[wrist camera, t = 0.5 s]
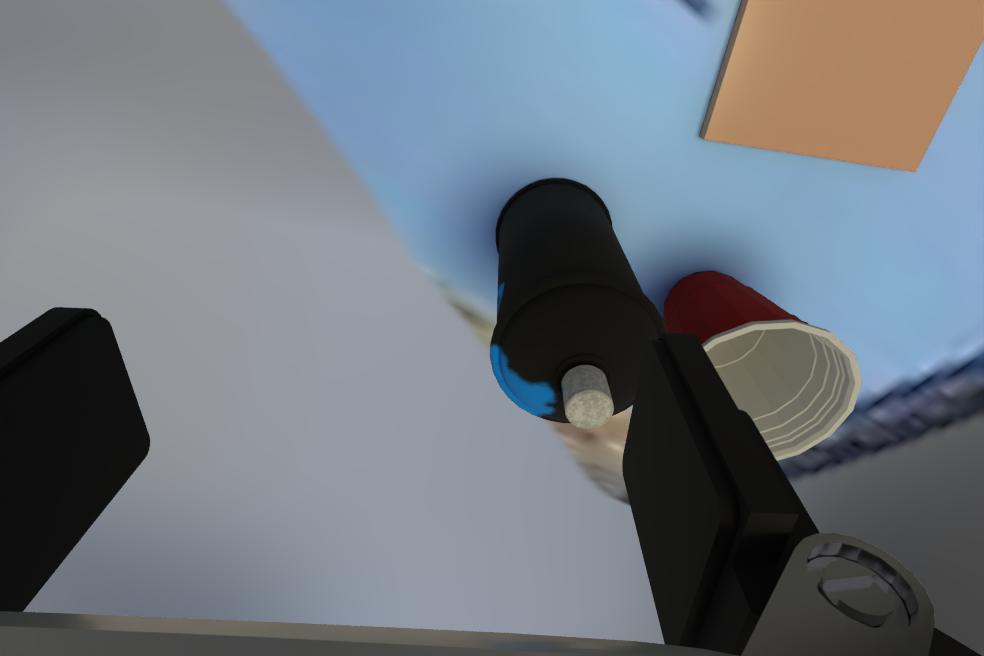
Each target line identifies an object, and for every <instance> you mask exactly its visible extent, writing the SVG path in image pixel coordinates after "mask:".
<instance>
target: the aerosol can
mask: <svg viewBox="0 0 984 656" xmlns="http://www.w3.org/2000/svg"><path fill="white" fill-rule="evenodd" d="M496 246H497V251H498V254H499V267H498V301H497V324H496V326H495V328H494V332H493V336H492V340H491V344H490V360H491V364H492V369H493V373H494V375H495V377H496V379H497V381H498V383H499V385H500V387H501V388H502V390H503V391H504V392H505V394H506V395H507V396H508V398H510V399H511V400H512V401H513V402H514V403H515V404H517V405H518V406H519V407H520V408H522V409H524V410H525V411H527V412H529V413H531V414H532V415H535V416H537V417H540V418H543V419H546V420H550V421H555V422H560V423H572V424H573V425H575V426H577V427H579V428H584V429H591V428H596V427H599V426H602V425H603V424H605V423H606V422H607V421H608V420H609V419H610V418H611V416H613V415H615V414H617V413H620V412H622V411H624V410H626V409H627V408H629V407H630V406H632V405H633V404H634V399H635V394H636V389H637V384H638V379H639V374H640V369H641V364H642V359H643V354H644V349H645V345H646V342H647V341H648V340H656V339H657V336H658V334H659V333H660V332H666V330H665V326H664V323H663V319H662V317H661V316H660V314H659V312H658V310H657V308H656V307H655V305H654V304H653V303H652V302H651V301H650V300H649V299H648V297H647V296H646V295H645V294H644V293H643V292H642V289H641V287H640V285H639V283H638V281H637V279H636V277H635V275H634V273H633V271H632V268H631V266H630V264H629V262H628V260H627V258H626V256H625V254H624V252H623V250H622V248H621V245H620V243H619V241H618V239H617V237H616V235H615V233H614V231H613V229H612V221H611V217H610V214H609V211H608V209H607V207H606V206H605V204H604V202H603V201H602V199H601V198H600V197H599V196H598V195H597V194H596V193H595V192H594V191H592V190H591V189H590V188H588V187H587V186H585V185H583V184H581V183H578V182H576V181H572V180H568V179H554V178H552V179H546V180H540V181H538V182H535V183H532V184H530V185H528V186H526V187H525V188H523V189H521V190H520V191H518V192H517V193H516V194H515V195H514V196H513V197H512V198H511V199H510V200H509V201H508V203H507V204H506V205H505V207H504V208H503V210H502V212H501V214H500V216H499V219H498V222H497V227H496Z"/></svg>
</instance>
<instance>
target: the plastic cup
mask: <svg viewBox="0 0 984 656" xmlns="http://www.w3.org/2000/svg"><path fill="white" fill-rule="evenodd" d="M663 320H664V326H665V330H666V332H674V333H693V334H695V335H696V336H697V338H698V339H699V341H700V343H701V345H702V346H703V348H704V350H705V352H706V353H707V355H708V357H709V358H710V360H711V362H712V364H713V365H714V367H715V369H716V371H717V372H718V374H719V376H720V378H721V379H722V381H723V383H724V385H725V386H726V388H727V390H728V392H729V393H730V395H731V397H732V399H733V400H734V402H735V404H736V406H737V407H738V409H739V410H743V411H745V412H747V413H748V414H749V416H750V417H751V418H752V420H753V421H754V423H755V425H756V427H757V428H758V430H759V432H760V433H761V435H762V437H763V438H764V440H765V442H766V443H767V445H768V447H769V448H770V450H771V452H772V454H773V455H774V457H775V459H776V460H777V461H778V460H781V459H784V458H788V457H791V456H795V455H798V454H801V453H802V452H804V451H806V450H807V449H809V448H811V447H812V446H814V445H816V444H817V443H819V442H821V441H822V440H824V439H826V438H827V437H829V436H831V435H832V434H833V432H834V431H835V430H836V429H837V428H838V427H839V426H840V424H841V423H842V422H843V421H844V420H845V419H846V418H847V417H848V415H849V414H850V413H851V412H852V411H853V409H854V406H855V403H856V399H857V396H858V393H859V390H860V387H861V384H862V379H861V375H860V371H859V367H858V363H857V359H856V355H855V354H854V353H853V352H852V351H851V350H850V349H849V348H848V347H847V346H846V345H845V344H844V343H842V342H841V341H840V340H839V339H838V338H837V337H836V336H835V335H834V334H833V333H831V332H830V331H828V330H826V329H822V328H819V327H816V326H812V325H809V324H808V323H807V322H804V321H801V320H800V319H799V318H798V317H796V316H795V315H791V314H789V313H788V312H786V311H785V310H783V309H782V308H780V307H779V306H777V305H776V304H774V303H773V302H771V301H770V300H768V299H767V298H765V297H764V296H762V295H761V294H759V293H758V292H757V291H755V290H754V289H752V288H751V287H748V286H745V285H743V284H742V283H740V282H739V281H737V280H736V279H734V278H733V277H731V276H728V275H724V274H721V273H718V272H714V271H707V272H697V273H695V274H692V275H690V276H688V277H686V278H683V279H682V280H681V281H680V282H679V283H677V284H676V285H675V286H674V287H673V288H672V289H671V291H670V293H669V295H668V297H667V298H666V300H665V305H664V318H663Z"/></svg>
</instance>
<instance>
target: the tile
mask: <svg viewBox="0 0 984 656" xmlns="http://www.w3.org/2000/svg"><path fill="white" fill-rule="evenodd" d="M983 40H984V0H742V2H741V5H740V9H739V12H738V15H737V18H736V21H735V25H734V28H733V31H732V34H731V37H730V41H729V44H728V47H727V50H726V53H725V57H724V60H723V63H722V66H721V69H720V72H719V76H718V79H717V82H716V85H715V88H714V92H713V95H712V98H711V101H710V104H709V108H708V111H707V114H706V117H705V120H704V124H703V127H702V130H701V133H700V136H699V137H701V138H702V139H704V140H709V141H716V142H722V143H729V144H735V145H742V146H748V147H755V148H761V149H768V150H774V151H781V152H787V153H794V154H800V155H807V156H813V157H820V158H826V159H833V160H839V161H846V162H852V163H859V164H865V165H872V166H878V167H885V168H891V169H898V170H904V171H911V172H916V170H917V168H918V166H919V164H920V162H921V160H922V159H923V157H924V155H925V153H926V151H927V149H928V147H929V145H930V143H931V141H932V139H933V137H934V135H935V133H936V131H937V129H938V127H939V125H940V123H941V121H942V120H943V118H944V116H945V114H946V112H947V110H948V108H949V106H950V104H951V102H952V100H953V98H954V96H955V94H956V92H957V90H958V88H959V86H960V84H961V82H962V80H963V79H964V77H965V75H966V73H967V71H968V69H969V67H970V65H971V63H972V61H973V59H974V57H975V55H976V53H977V51H978V49H979V47H980V45H981V43H982V41H983Z"/></svg>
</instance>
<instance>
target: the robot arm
mask: <svg viewBox="0 0 984 656" xmlns="http://www.w3.org/2000/svg"><path fill="white" fill-rule="evenodd" d="M149 447H150V437H149V434H148V431H147V428H146V425H145V422H144V419H143V416H142V413H141V410H140V407H139V405H138V402H137V399H136V396H135V393H134V390H133V387H132V384H131V381H130V379H129V376H128V373H127V370H126V367H125V364H124V361H123V359H122V355H121V353H120V350H119V347H118V344H117V341H116V338H115V335H114V332H113V330H112V327H111V325H110V323H109V321H108V320H106V319H105V318H103V317H101V315H100V314H99V313H98V312H97V311H96V310H93V309H87V308H63V307H57V308H56V307H55V308H52V309H50V310H48V311H47V312H45V313H44V314H42V315H41V316H39V317H38V318H36V319H35V320H33V321H32V322H30V323H29V324H27V325H26V326H24V327H23V328H21V329H20V330H18V331H17V332H15V333H14V334H12V335H11V336H9V337H8V338H7V339H5V340H3V341H2V342H0V656H981V655H980V654H978V653H976V652H975V651H973V650H971V649H969V648H968V647H966V646H965V645H963V644H961V643H960V642H958V641H956V640H955V639H953V638H951V637H950V636H948V635H946V634H945V633H943V632H941V631H940V630H938V629H936V628H935V627H934V625H935V618H934V607H933V604H932V602H931V600H930V598H929V596H928V594H927V591H926V589H925V588H924V587H923V586H922V584H921V583H920V582H919V581H918V580H917V578H916V577H915V576H914V575H913V573H912V572H911V571H909V570H908V569H907V568H906V567H905V566H904V565H902V564H901V563H900V562H899V561H898V560H896V559H895V558H894V557H892V556H891V555H889V554H888V553H886V552H884V551H883V550H881V549H879V548H878V547H876V546H874V545H872V544H869V543H867V542H865V541H862V540H860V539H857V538H855V537H851V536H846V535H841V534H837V533H819V531H818V529H817V528H816V526H815V525H814V523H813V521H812V519H811V518H810V516H809V514H808V513H807V511H806V509H805V507H804V506H803V504H802V503H801V501H800V499H799V497H798V496H797V494H796V492H795V491H794V489H793V487H792V486H791V484H790V482H789V481H788V479H787V477H786V475H785V474H784V472H783V470H782V469H781V467H780V465H779V464H778V462H777V460H776V459H775V457H774V455H773V454H772V452H771V450H770V448H769V447H768V445H767V443H766V442H765V440H764V438H763V437H762V435H761V433H760V432H759V430H758V428H757V427H756V425H755V423H754V421H753V420H752V418H751V417H750V416H749V414H748V413H747V412H745V411H743V410H739V409H738V407H737V406H736V404H735V402H734V400H733V399H732V397H731V395H730V393H729V392H728V390H727V388H726V386H725V385H724V383H723V381H722V379H721V378H720V376H719V374H718V372H717V371H716V369H715V367H714V365H713V364H712V362H711V360H710V358H709V357H708V355H707V353H706V352H705V350H704V348H703V346H702V345H701V343H700V341H699V339H698V338H697V336H696V335H695V334H693V333H674V332H660V333H659V334H658V336H657V339H656V340H648V341H647V342H646V345H645V349H644V354H643V359H642V364H641V369H640V374H639V379H638V384H637V389H636V394H635V399H634V404H633V409H632V414H631V419H630V424H629V429H628V434H627V439H626V444H625V449H624V454H623V464H622V465H623V477H624V481H625V485H626V489H627V493H628V497H629V501H630V505H631V509H632V513H633V517H634V521H635V525H636V529H637V533H638V537H639V541H640V546H641V550H642V553H643V558H644V562H645V565H646V570H647V574H648V578H649V581H650V585H651V590H652V594H653V598H654V602H655V606H656V610H657V614H658V618H659V622H660V626H661V630H662V634H663V638H664V642H665V645H664V644H655V643H646V642H637V641H623V640H606V639H591V638H577V637H561V636H546V635H529V634H515V633H495V632H473V631H453V630H452V631H451V630H432V629H431V630H430V629H410V628H390V627H367V626H348V625H326V624H304V623H281V622H256V621H233V620H211V619H187V618H161V617H138V616H114V615H89V614H63V613H35V612H23V611H24V609H25V608H26V606H28V604H29V603H30V602H31V601H32V599H33V598H34V597H35V595H36V594H37V593H38V592H39V590H40V589H41V588H42V587H43V586H44V584H45V583H46V582H47V581H48V579H49V578H50V577H51V575H52V574H53V573H54V572H55V570H56V569H57V568H58V567H59V565H60V564H61V563H62V562H63V560H64V559H65V558H66V557H67V555H68V554H69V553H70V551H71V550H72V549H73V548H74V546H75V545H76V544H77V543H78V542H79V540H80V539H81V538H82V536H83V535H84V534H85V532H87V530H88V529H89V528H90V526H91V525H92V524H93V523H94V521H95V520H96V519H97V518H98V516H99V515H100V514H101V513H102V511H103V510H104V509H105V508H106V506H107V505H108V504H109V503H110V501H111V500H112V499H113V498H114V496H115V495H116V494H117V492H118V491H119V490H120V489H121V488H122V486H123V485H124V484H125V483H126V481H127V480H128V479H129V478H130V476H131V475H132V474H133V472H134V471H135V470H136V468H137V467H138V466H139V465H140V464H141V462H142V461H143V460H144V459H145V457H146V456H147V454H148V451H149Z"/></svg>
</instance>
